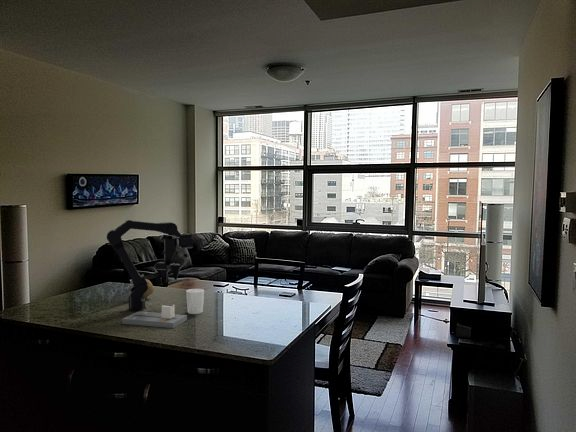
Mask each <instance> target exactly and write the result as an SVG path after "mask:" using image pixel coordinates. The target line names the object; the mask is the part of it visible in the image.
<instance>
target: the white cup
mask: <svg viewBox="0 0 576 432" xmlns="http://www.w3.org/2000/svg"><path fill="white" fill-rule="evenodd" d="M185 292H186V295H185V296H186V306H187V308H186V309H187V314H190V315H200V314H202V313H203V311H204V310H203V309H204V302H205V301H204V299H205V297H204V295H205V289H203V288H191V289H190V288H189V289H187V290H186V291H185Z"/></svg>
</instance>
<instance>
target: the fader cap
mask: <svg viewBox="0 0 576 432" xmlns="http://www.w3.org/2000/svg"><path fill="white" fill-rule="evenodd" d="M175 306H176V305H175V304H171V303H170V304H169V303H163V304H162V305H161V313H162V318H167V319H171V318H173V317H175V314H176V313H175V310H176V309H175Z"/></svg>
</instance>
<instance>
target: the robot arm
mask: <svg viewBox="0 0 576 432" xmlns="http://www.w3.org/2000/svg"><path fill="white" fill-rule="evenodd" d="M130 230H141V231H152V232H159V233H161V234H162V236H160V238H159V239H160V241H162V240H163V242H164V247H163V248H164V249H163V251H162V254H163V255H164V256H163V257H164V259H162V261H158V262H156V263H155V264H154V270H156V271H157V272H158V273H159V275H160V278H161V279H162V281H163V284H167V283H168V277H169V272H170V271H171V272H172V275H173V278H174V279H173V280H175V281H177V280H178V277H179V274H180V271H181V268H182V267H184V266H186V265H188V262H189V261H190V254H189V253H184V254H181V253H180V251H179V250H178V247H179V248H180V249H193V248H194V240H193V234H192V233H187V234H181V232H180V231H179V230H178V226H177V224H176V223H174V222H173V221H172V222H171V221H167V222H164V221H163V222H147V221H140V220H139V221H138V220H132V219H127V220H125V222H124V223H122V224H121V225H119V226H117V227H116V228H115V229H110V230H109V231H108V232H107V233H106V240H107V241H108V243H109V244H110V245H111V246H112V248H113V249H114V250H115V251H116V252H117V254H118V256H119V258H120V259H121V261H122V263H123V266H124V267H125V269H126V271H127V273H128V274H129V276H130V279H131V281H132V285H133V286H132V287H131V288H130V289H129V291H128V292H129V295H128V308H126V311H131V312H139V311H141V312H142V311H143V310H145V309H147V306H146V298H145V299H144V296H143V294H144V293H145V292H146V291H147V289H148V286H147V284H148V282H147V280H148V279H147V278H146V277H145V274H144V273H142V274H140V273H139V272H138V270H137V268H136V266H135V264H134V263H133V261H132V259H131V257H130V255H129V253H128V252H127V250H126V248H125V245H124V243H123V242H124V241H123V239H122V237H123V235H125V234H126V233H127V232H128V231H130ZM165 234H166V235H165ZM173 235H174V236H175V237H173ZM146 279H147V280H146Z"/></svg>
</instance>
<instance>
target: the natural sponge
mask: <svg viewBox="0 0 576 432" xmlns="http://www.w3.org/2000/svg"><path fill="white" fill-rule="evenodd" d="M145 279H146V280H147V282H148V284H147V286H148V289H147V291H146V292H145V293H144V294H143V296H144V299H145V300H146V298H148V297H149V296H151V295H152V294H153V293H154V291H155V287H154V285H153V283H152V282H151V281H150V280H149V279H147V278H145Z"/></svg>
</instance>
